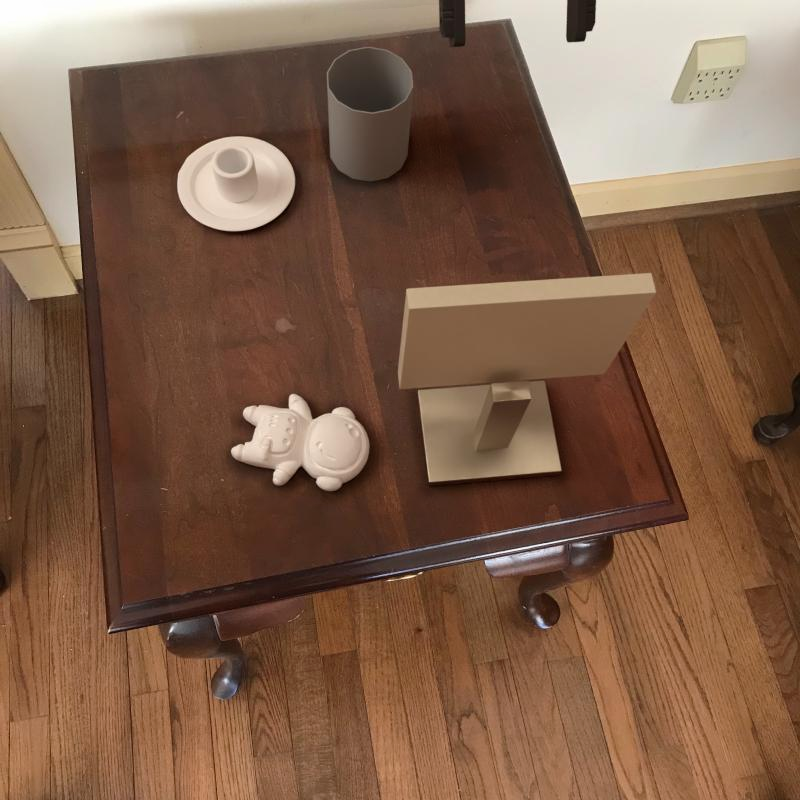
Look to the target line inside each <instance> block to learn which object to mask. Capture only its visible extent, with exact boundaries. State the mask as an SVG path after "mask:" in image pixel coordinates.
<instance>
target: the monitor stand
mask: <svg viewBox="0 0 800 800" xmlns="http://www.w3.org/2000/svg"><path fill="white" fill-rule="evenodd" d="M547 390H548V389H547V384H546V381H545V380H533V381H531V380H530V381H529V380H518V381H505V382H491V383H489V384H478V385H477V384H476V385H463V386H451V387H450V386H449V387H440V388H439V387H437V388H422V389H418V390H417V393H416V397H417V407H418V415H419V421H420V422H419V423H420V432H421V439H422V448H423V455H424V464H425V465H424V466H425V471H426V481H427V486H428V487H435V486H448V485H459V484H472V483H481V482H493V481H495V482H497V481H505V480H506V481H507V480H518V479H530V478H542V477H552V476H553V477H554V476H560V474H561V473H562V471H563V469H562V463H561V459H560V454H559V447H558V443H557V437H556V433H555V426H554V423H553V422H554V421H553V416H552V412H551V405H550V401H549V395H548V391H547Z"/></svg>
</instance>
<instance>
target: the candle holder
mask: <svg viewBox="0 0 800 800" xmlns="http://www.w3.org/2000/svg"><path fill="white" fill-rule="evenodd" d="M289 160H290V159H288V157H287V156H286V155H285V154H284V153H283V152H282V151H281V150H280V149H278V147H276V146H274V145H273V144H271V143H269V142H267V141H265V140H262V139H260V138H256V137H251V136H240V135H239V136H235V135H234V136H227V137H222V138H218V139H215V140H212V141H209V142H208V143H206V144H203V145H202V146H200V147H199V148H197V149H195V150H194V151H193V152H192V153H190V154H189V156H187V157H186V159H185V160H184V162H183V164H182V165H181V167H180V169H179V171H178V173H177V181H176V182H177V183H176V184H177V185H176V186H177V194H178V198H179V200H180V203H181V205H182V206H183V209H184V210H185V211H186V212H187V213H188V214H189V215H190V216H191V218H193V219H195V220H196V221H197V222H199V223H200V224H202V225H205V226H207V227H209V228H212V229H214V230H218V231H219V230H220V231H225V232H242V231H243V232H244V231H250V230H253V229H257V228H259V227H262V226H264V225H267V224H268V223H270V222H272V221H273V220H275V219H276V218H277V217H279V216H280V215H281V214H282V213H283V212H284V211H285V209H286V208H287V207H288V205H289V204H290V202H291V200H292V198H293V196H294V193H295V188H296V175H295V171H294V168H293V166H292V164H291V162H290V161H289Z"/></svg>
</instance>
